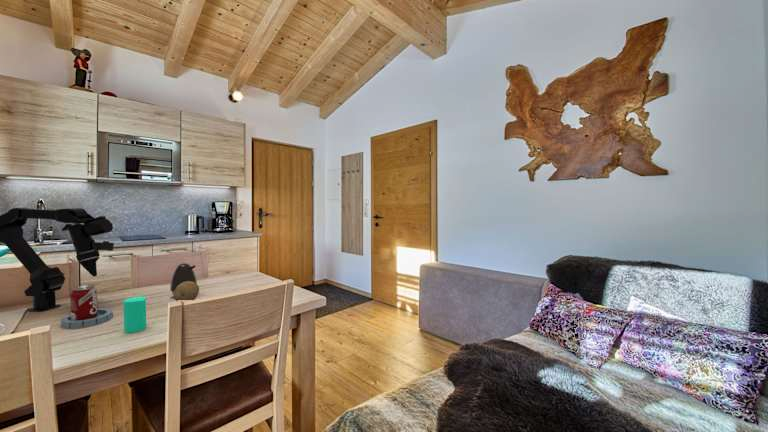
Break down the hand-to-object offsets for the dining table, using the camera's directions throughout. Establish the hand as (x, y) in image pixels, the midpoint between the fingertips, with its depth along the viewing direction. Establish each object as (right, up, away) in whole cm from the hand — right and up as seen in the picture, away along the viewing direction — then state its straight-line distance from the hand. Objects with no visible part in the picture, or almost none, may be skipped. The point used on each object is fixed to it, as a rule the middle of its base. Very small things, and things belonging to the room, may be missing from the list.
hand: (95, 276), depth 119 cm
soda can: (+9, -14, -12) cm, 20 cm away
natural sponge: (+32, -14, +7) cm, 35 cm away
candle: (+30, -15, -17) cm, 38 cm away
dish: (+9, -14, -12) cm, 20 cm away
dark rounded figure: (+24, -13, +18) cm, 33 cm away
